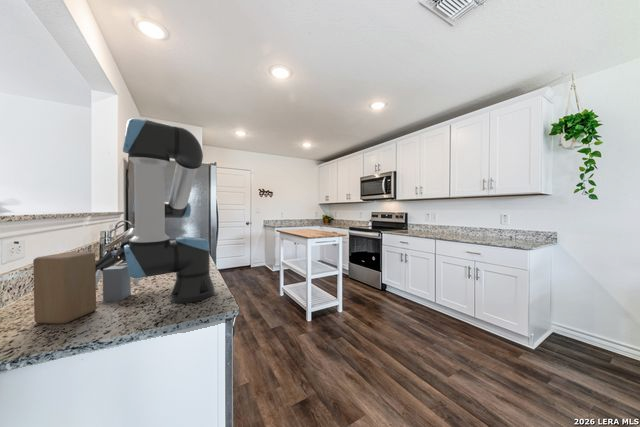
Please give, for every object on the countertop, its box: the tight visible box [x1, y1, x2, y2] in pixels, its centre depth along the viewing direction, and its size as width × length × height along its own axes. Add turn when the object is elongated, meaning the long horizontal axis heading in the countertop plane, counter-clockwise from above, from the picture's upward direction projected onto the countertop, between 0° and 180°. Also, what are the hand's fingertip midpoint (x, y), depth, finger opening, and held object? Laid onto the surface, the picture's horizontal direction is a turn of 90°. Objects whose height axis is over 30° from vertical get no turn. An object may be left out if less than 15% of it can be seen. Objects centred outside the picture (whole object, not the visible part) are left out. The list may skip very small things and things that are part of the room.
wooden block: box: [32, 251, 97, 324], centre depth 74 cm, size 10×10×20 cm
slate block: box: [102, 264, 132, 302], centre depth 90 cm, size 6×6×12 cm
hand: (114, 285), depth 88 cm, fingers open, 13 cm apart
